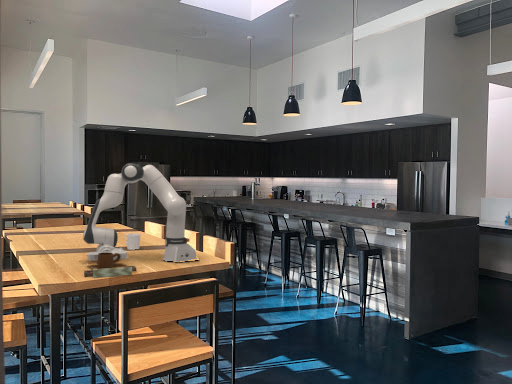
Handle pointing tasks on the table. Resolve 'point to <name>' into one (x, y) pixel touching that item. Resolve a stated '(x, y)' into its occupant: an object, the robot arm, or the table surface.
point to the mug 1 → (107, 260)
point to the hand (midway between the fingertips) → (109, 258)
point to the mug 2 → (132, 241)
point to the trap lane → (109, 272)
